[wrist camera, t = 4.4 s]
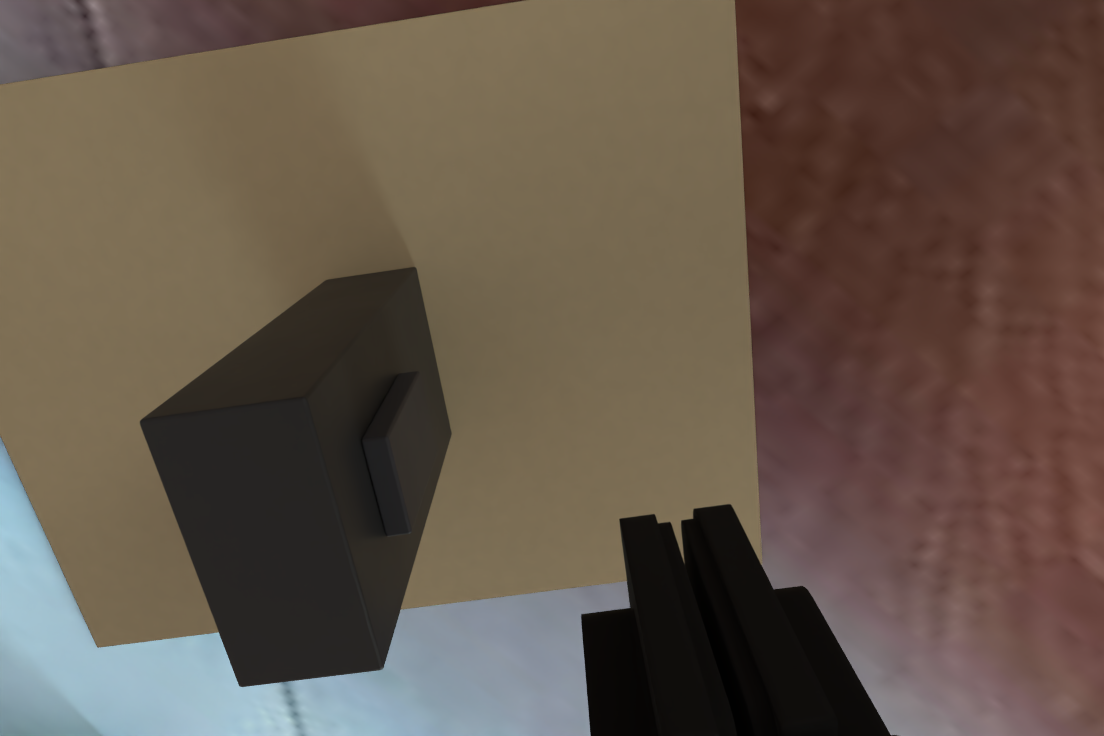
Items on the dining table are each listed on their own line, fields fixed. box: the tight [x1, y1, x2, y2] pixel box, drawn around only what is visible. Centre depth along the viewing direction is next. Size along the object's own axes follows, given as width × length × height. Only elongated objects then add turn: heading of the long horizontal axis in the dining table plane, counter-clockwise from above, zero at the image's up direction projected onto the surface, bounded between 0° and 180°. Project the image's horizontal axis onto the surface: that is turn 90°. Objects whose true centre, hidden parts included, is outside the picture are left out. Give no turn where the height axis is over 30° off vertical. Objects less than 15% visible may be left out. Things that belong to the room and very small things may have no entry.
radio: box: [140, 267, 452, 687], centre depth 18 cm, size 6×4×11 cm, turn 8°
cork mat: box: [0, 0, 762, 647], centre depth 24 cm, size 20×26×1 cm
